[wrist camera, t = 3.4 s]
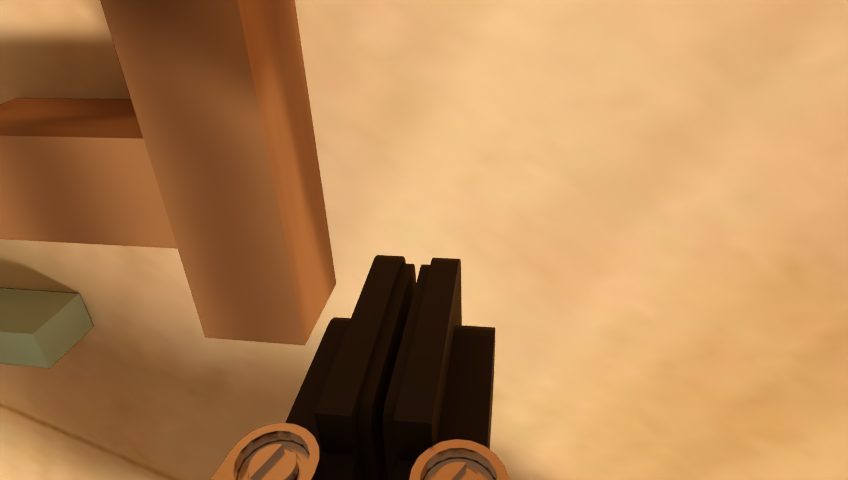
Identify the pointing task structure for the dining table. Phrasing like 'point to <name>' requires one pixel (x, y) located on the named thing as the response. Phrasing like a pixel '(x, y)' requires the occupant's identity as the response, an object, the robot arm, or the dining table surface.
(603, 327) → the dining table surface
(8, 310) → the frame
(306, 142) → the t block
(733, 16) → the dining table surface
